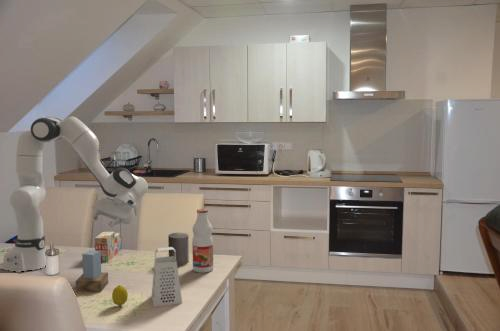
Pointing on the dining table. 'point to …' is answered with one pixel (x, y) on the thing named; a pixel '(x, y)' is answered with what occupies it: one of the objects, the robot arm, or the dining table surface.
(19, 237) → the robot arm
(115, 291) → the lemon
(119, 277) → the dining table surface
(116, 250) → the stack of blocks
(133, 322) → the dining table surface
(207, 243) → the fruit juice
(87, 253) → the slate block
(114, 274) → the dining table surface
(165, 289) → the grater
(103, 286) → the walnut block
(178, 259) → the pillar candle
